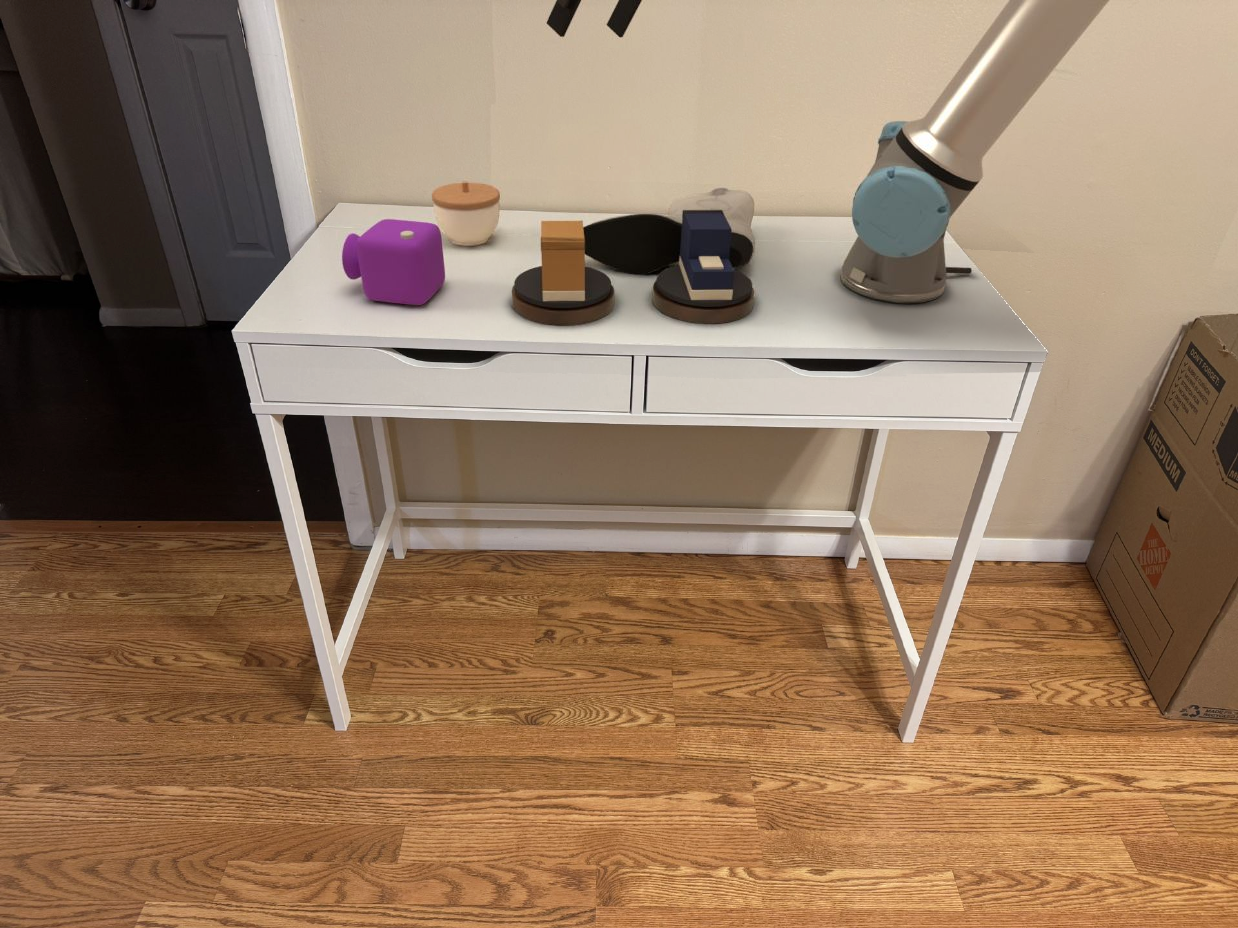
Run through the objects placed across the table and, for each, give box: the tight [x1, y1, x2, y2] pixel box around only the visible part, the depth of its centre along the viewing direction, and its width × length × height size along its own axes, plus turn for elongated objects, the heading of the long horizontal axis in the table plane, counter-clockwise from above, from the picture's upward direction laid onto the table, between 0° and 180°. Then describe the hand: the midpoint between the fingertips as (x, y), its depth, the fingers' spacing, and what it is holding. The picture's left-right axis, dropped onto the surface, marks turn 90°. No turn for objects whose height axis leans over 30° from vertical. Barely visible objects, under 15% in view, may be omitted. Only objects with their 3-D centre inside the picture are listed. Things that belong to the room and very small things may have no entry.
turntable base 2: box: [652, 280, 755, 325], centre depth 119 cm, size 14×14×2 cm
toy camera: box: [341, 218, 446, 306], centre depth 117 cm, size 11×14×10 cm
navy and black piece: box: [655, 210, 753, 307], centre depth 116 cm, size 14×14×9 cm
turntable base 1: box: [511, 283, 615, 326], centre depth 118 cm, size 14×14×2 cm
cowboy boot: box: [583, 187, 756, 275], centre depth 134 cm, size 10×28×25 cm
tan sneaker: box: [513, 220, 612, 308], centre depth 114 cm, size 14×14×9 cm
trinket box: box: [431, 180, 501, 247], centre depth 135 cm, size 11×11×9 cm
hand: (585, 31), depth 111 cm, fingers open, 13 cm apart
